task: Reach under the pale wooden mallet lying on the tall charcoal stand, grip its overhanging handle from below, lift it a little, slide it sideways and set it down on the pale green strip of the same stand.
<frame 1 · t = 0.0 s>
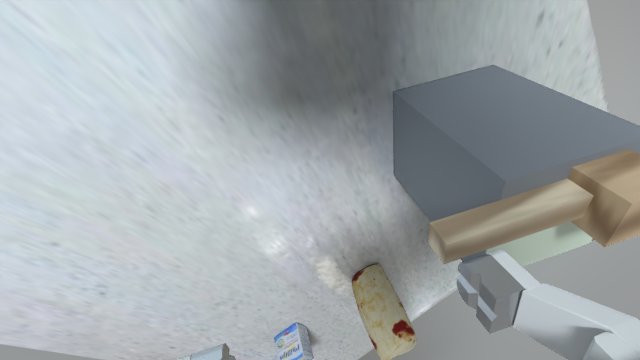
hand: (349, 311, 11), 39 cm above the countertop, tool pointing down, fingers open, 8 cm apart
medicine box: (290, 331, 84), on the countertop
food model: (363, 272, 77), on the countertop
stand: (439, 123, 57), on the countertop
mallet: (530, 199, 34), point 25 cm above the countertop, touching stand
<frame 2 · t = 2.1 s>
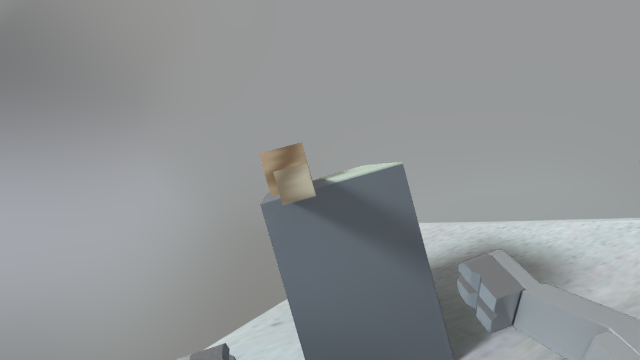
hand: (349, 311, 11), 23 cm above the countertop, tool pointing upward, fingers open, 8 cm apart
stand: (368, 345, 46), on the countertop
mallet: (293, 192, 39), point 25 cm above the countertop, touching stand
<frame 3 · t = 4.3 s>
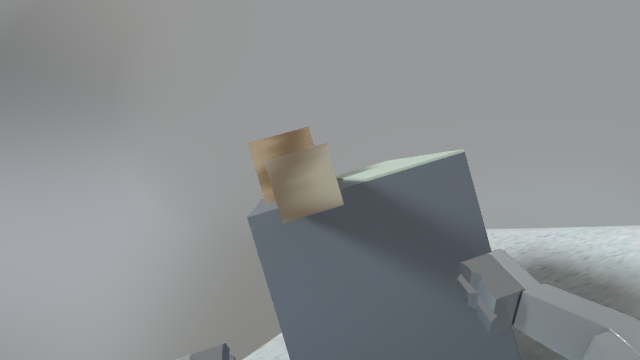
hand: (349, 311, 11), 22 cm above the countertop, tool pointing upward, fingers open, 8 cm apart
mallet: (298, 197, 27), point 25 cm above the countertop, touching stand
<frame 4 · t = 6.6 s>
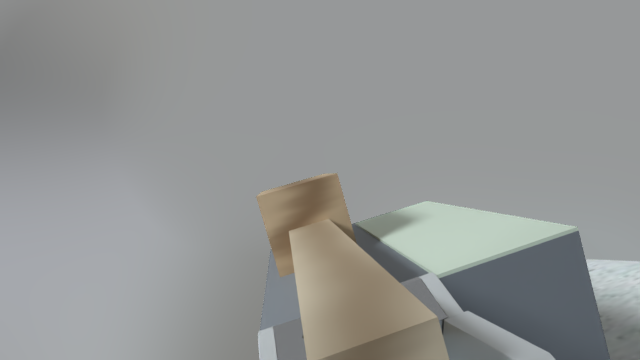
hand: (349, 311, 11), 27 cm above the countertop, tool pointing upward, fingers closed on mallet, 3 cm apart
mallet: (328, 283, 19), point 25 cm above the countertop, touching gripper, stand
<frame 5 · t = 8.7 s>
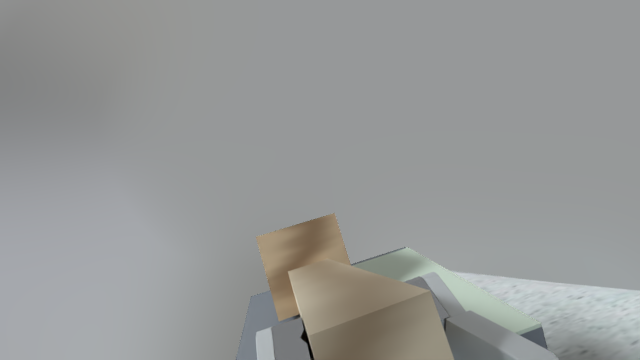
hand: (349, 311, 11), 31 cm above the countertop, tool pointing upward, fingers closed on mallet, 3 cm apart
mallet: (328, 320, 18), point 27 cm above the countertop, tilted 12°, touching gripper, stand
when the fingers open (28 cm above the countertop, at t = 10.9 s): mallet stays where it is, resting on stand.
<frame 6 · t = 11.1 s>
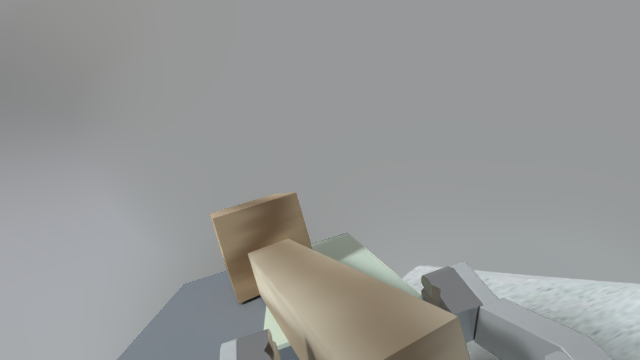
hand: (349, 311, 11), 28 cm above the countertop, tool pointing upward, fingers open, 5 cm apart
mallet: (296, 304, 18), point 25 cm above the countertop, touching stand
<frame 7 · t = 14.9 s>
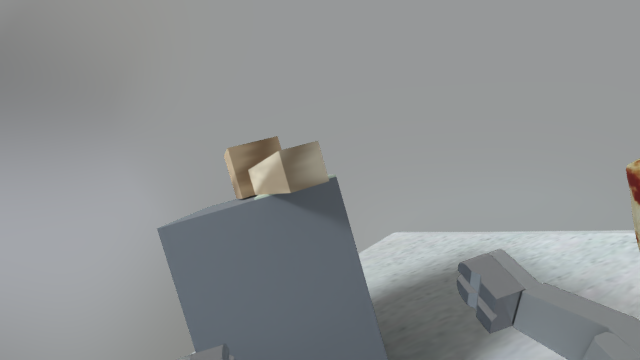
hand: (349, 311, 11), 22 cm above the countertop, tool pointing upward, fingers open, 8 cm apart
mallet: (274, 190, 33), point 25 cm above the countertop, touching stand
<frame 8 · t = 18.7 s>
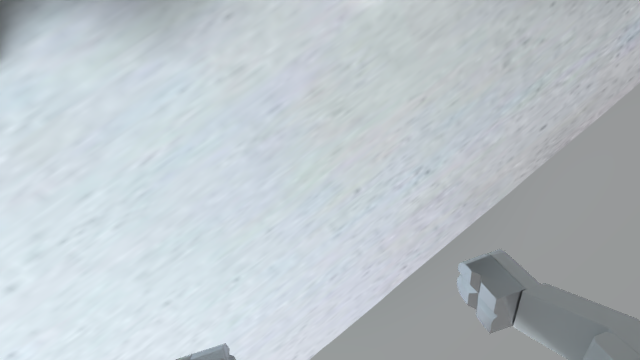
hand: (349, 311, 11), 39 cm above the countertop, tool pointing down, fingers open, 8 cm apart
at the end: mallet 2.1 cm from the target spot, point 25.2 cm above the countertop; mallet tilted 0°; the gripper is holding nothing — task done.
